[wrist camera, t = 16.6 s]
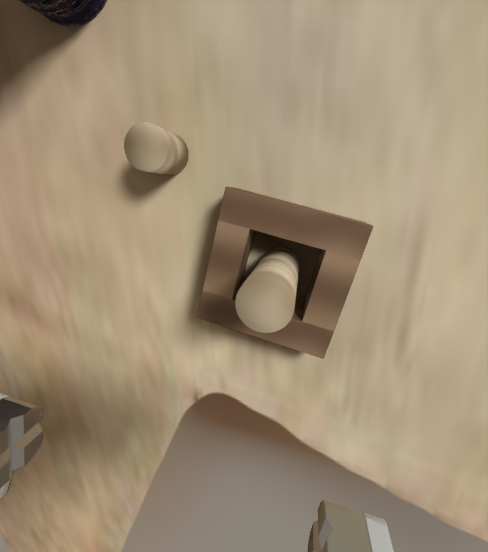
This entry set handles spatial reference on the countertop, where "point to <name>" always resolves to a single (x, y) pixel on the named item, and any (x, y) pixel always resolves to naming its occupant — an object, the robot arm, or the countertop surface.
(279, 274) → the long pin
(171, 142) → the short pin
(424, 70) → the countertop surface
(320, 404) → the countertop surface
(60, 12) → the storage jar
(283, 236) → the walnut collar
